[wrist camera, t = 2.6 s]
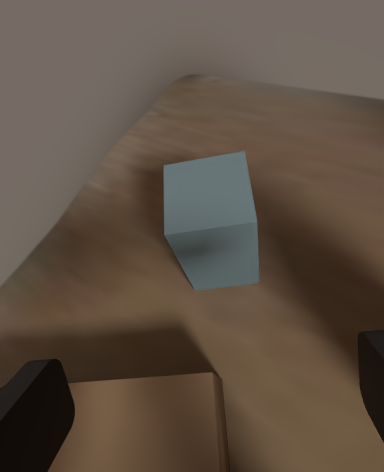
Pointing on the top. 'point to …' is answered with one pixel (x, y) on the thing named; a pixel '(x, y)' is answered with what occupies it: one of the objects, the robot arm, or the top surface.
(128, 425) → the walnut block
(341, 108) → the top surface
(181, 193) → the slate block
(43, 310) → the top surface
